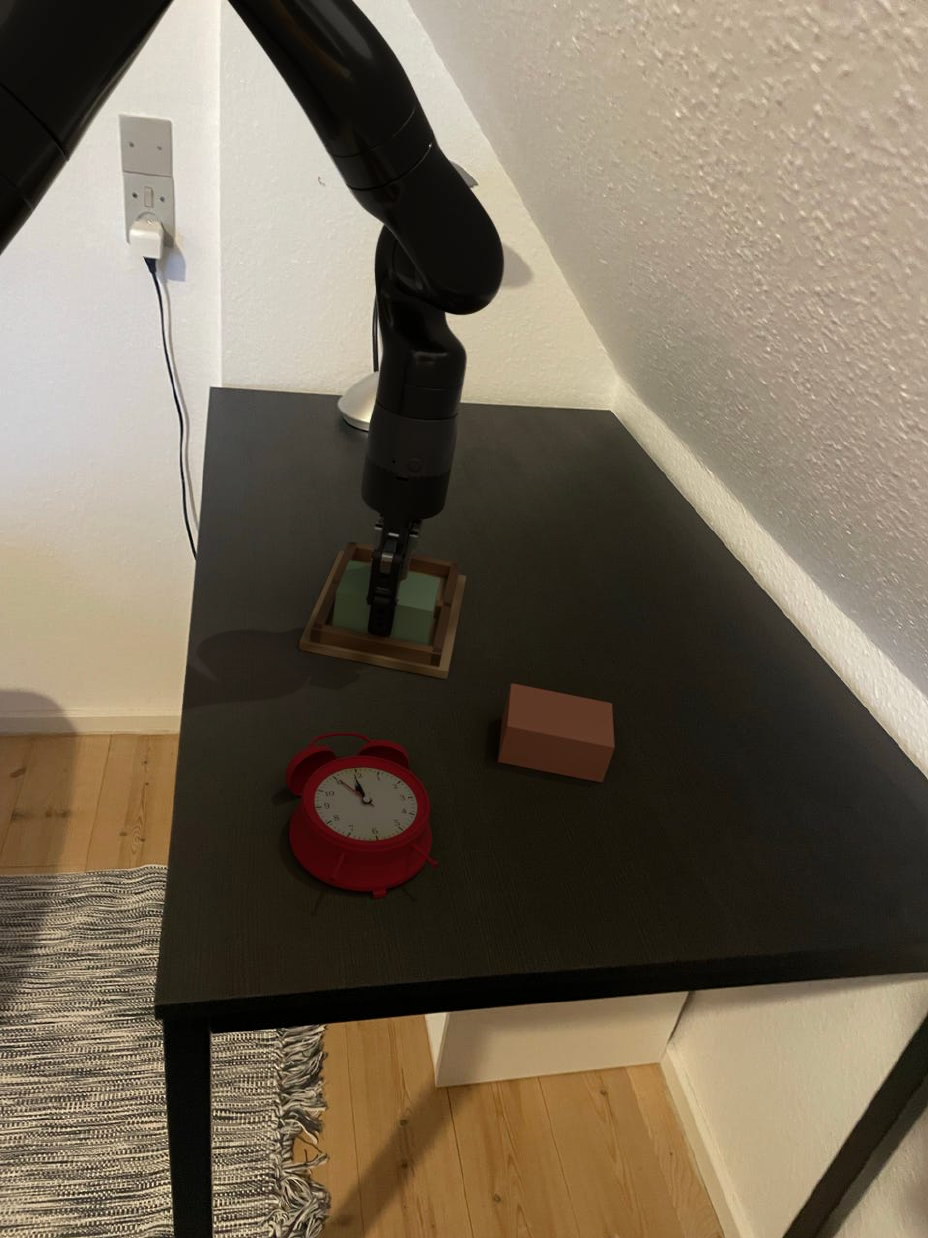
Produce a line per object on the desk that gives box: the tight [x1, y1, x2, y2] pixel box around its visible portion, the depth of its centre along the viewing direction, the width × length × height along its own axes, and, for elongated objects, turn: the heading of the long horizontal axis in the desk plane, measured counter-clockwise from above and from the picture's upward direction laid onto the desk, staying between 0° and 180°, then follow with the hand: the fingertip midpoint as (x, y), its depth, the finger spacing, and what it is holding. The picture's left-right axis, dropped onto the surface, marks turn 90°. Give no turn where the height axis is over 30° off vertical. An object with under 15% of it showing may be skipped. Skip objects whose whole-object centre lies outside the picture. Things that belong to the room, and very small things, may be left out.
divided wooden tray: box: [298, 540, 467, 680], centre depth 94 cm, size 14×18×2 cm
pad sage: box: [332, 560, 441, 645], centre depth 90 cm, size 9×6×4 cm, turn 84°
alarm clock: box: [285, 731, 439, 900], centre depth 70 cm, size 10×6×15 cm
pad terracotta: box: [497, 682, 615, 783], centre depth 81 cm, size 9×6×4 cm, turn 84°
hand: (385, 614), depth 90 cm, fingers closed on pad sage, 6 cm apart
